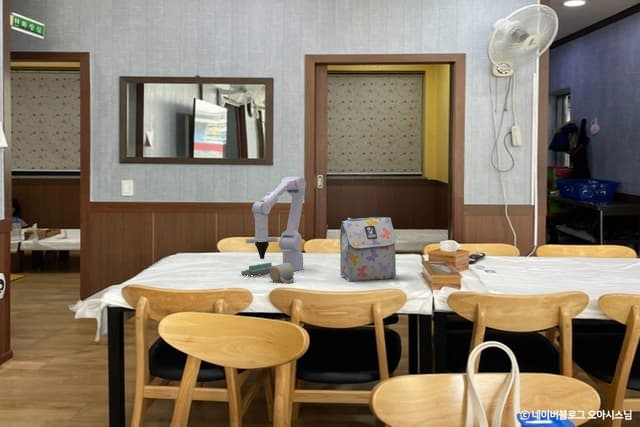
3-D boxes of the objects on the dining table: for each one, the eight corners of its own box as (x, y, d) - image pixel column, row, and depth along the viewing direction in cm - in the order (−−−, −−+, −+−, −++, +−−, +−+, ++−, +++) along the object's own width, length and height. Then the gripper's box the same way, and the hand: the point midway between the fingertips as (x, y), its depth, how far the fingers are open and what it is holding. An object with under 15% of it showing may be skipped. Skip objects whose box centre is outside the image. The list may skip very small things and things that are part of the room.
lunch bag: (348, 283, 297) (348, 220, 295) (337, 276, 313) (336, 217, 311) (398, 280, 303) (398, 218, 301) (384, 274, 319) (384, 215, 317)
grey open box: (270, 270, 331) (270, 266, 331) (278, 272, 327) (278, 268, 327) (241, 274, 320) (241, 271, 320) (249, 276, 315) (249, 272, 315)
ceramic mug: (268, 281, 302) (268, 263, 302) (283, 279, 308) (283, 261, 307) (283, 285, 294) (283, 266, 294) (298, 282, 300) (298, 264, 299)
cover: (271, 266, 331) (270, 261, 331) (278, 267, 328) (278, 262, 328) (245, 271, 318) (245, 265, 318) (253, 272, 315) (253, 266, 315)
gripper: (274, 227, 322) (274, 256, 323) (243, 228, 317) (243, 258, 318) (279, 228, 316) (279, 258, 317) (247, 229, 310) (248, 260, 311)
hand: (262, 258), depth 317 cm, fingers closed
